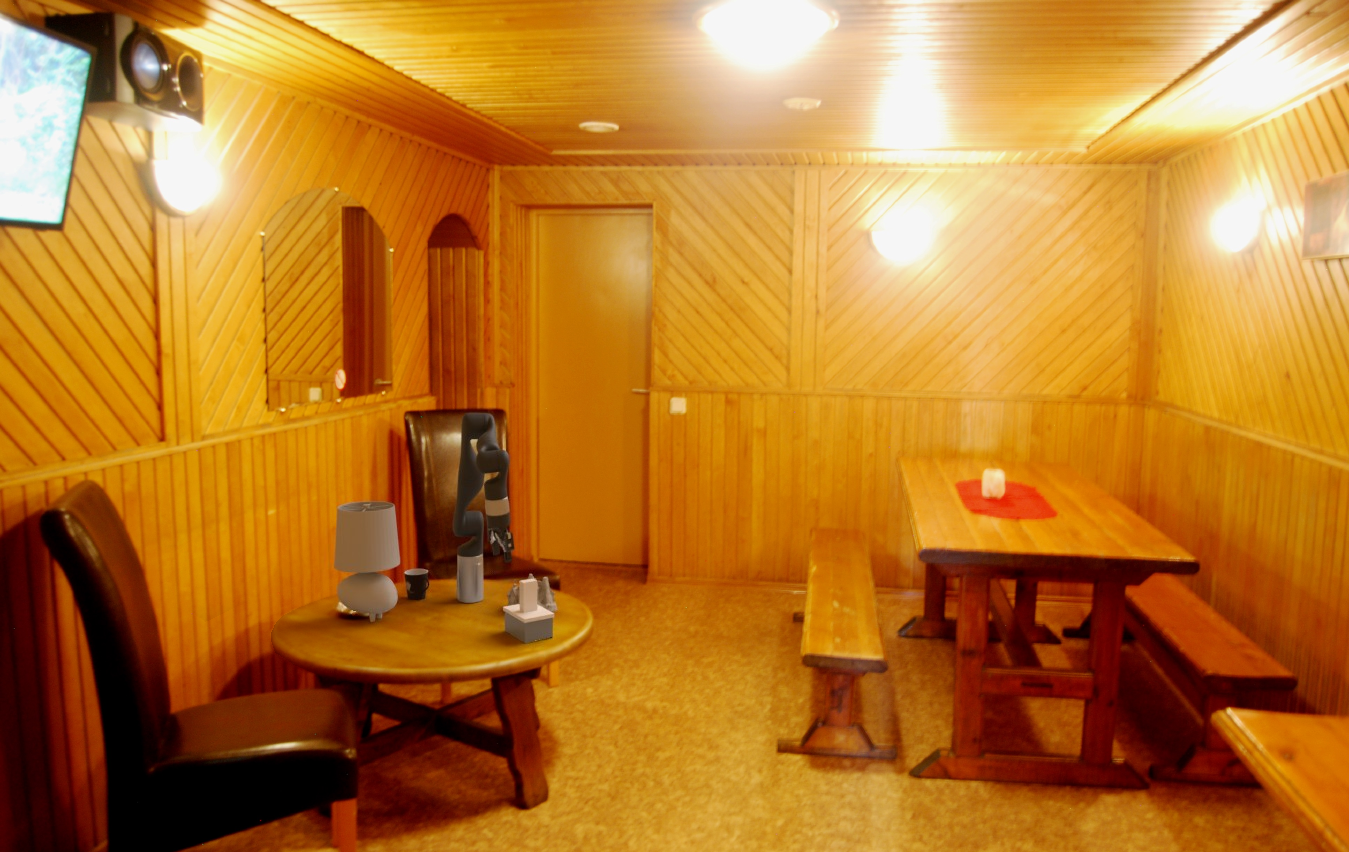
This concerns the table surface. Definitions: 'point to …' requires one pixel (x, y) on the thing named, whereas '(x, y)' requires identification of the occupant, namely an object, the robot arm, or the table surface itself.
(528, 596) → the slab with upright post
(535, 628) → the tub
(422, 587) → the coffee mug
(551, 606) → the beige rock formation
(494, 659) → the table surface
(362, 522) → the table lamp
